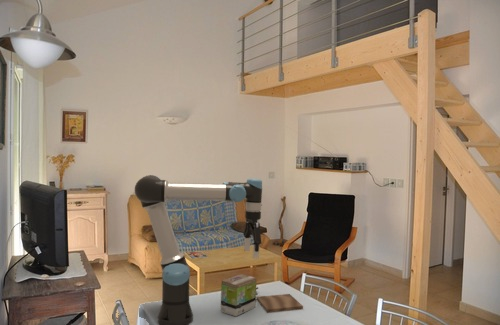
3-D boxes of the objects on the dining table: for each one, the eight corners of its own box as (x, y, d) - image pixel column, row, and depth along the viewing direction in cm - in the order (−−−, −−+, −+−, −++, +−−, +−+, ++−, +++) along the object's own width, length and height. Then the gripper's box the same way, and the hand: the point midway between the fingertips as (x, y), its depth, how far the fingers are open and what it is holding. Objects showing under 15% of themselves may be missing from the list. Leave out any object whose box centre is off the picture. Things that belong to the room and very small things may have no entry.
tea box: (236, 317, 181) (237, 284, 180) (219, 311, 187) (220, 280, 186) (256, 307, 193) (257, 276, 192) (240, 302, 199) (240, 272, 198)
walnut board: (267, 312, 186) (267, 309, 186) (256, 299, 203) (256, 296, 203) (303, 309, 192) (303, 306, 192) (289, 296, 208) (289, 293, 208)
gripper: (269, 214, 183) (267, 260, 184) (252, 207, 207) (250, 248, 207) (254, 214, 181) (251, 261, 181) (238, 207, 205) (236, 248, 205)
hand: (251, 254), depth 194 cm, fingers open, 13 cm apart
